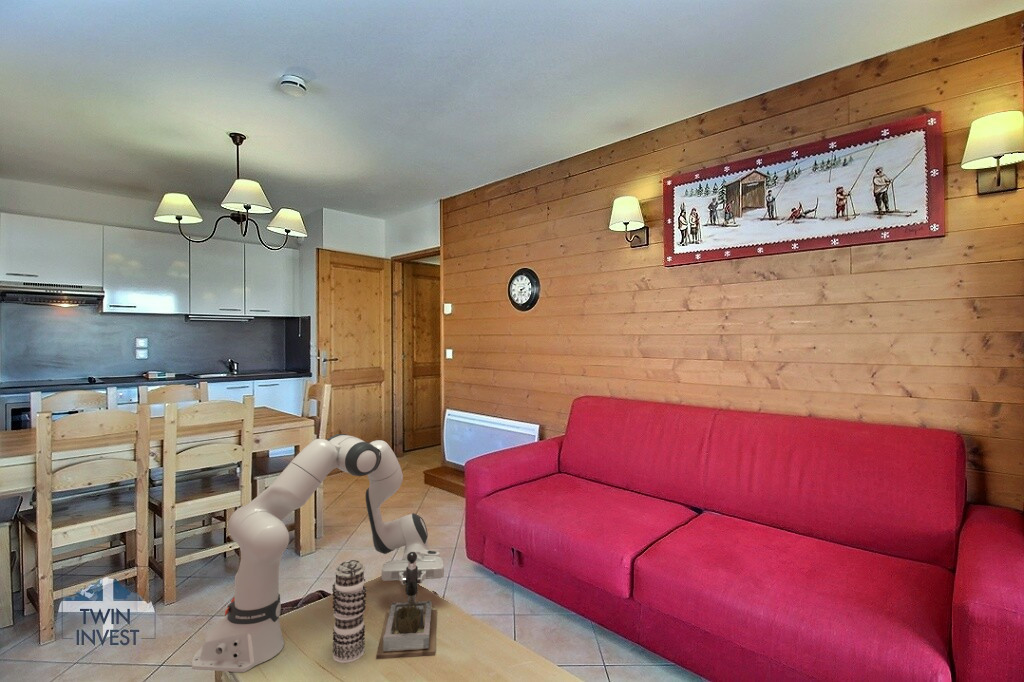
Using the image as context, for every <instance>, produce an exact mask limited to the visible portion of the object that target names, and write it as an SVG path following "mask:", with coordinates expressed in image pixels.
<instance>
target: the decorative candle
mask: <svg viewBox="0 0 1024 682" xmlns="http://www.w3.org/2000/svg"><path fill="white" fill-rule="evenodd" d="M365 571H366V566H365V565H364V564H363V563H362V562H360V561H359V560H356V559H351V560H350V559H349V560H346V561H343V562H342V563H340V564H339V565H338V566H337V567H336V569H335V570H334V573H335V581H334V584H332V589H331V590H332V594H331V595H332V605H333V606H332V609H333V617H334V618H335V619H334V626H333V627H334V628H333V631H332V634H333V638H332V640H333V642H332V658H333V660H334V661H335V662H338V663H339V664H340V663H341V664H347V663H352V662H355V661H357V660H359V659H360V658H362V657H363V655H364V654H365V647H366V646H365V645H366V643H365V639H366V638H365V635H366V634H365V632H366V625H365V623H364V619H365V618H364V612H365V611H366V604H367V603H366V601H367V600H366V598H367V593H366V592H367V587H366V586H365V582H366V579H365V575H364V574H365Z"/></svg>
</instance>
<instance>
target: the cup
mask: <svg viewBox="0 0 1024 682" xmlns="http://www.w3.org/2000/svg"><path fill="white" fill-rule="evenodd" d="M420 619H421V609H420V610H419V607H418V609H417V608H416V606H413V605H412V606H411V607H410V608H409V605H408V606H407V608H405V606H402V607H401V609H400V608H399V609H398V613H396V622H397V629H398V630H397V631H398V634H405V633H418V631H419V630H420V629H419V625H420Z"/></svg>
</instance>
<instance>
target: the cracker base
mask: <svg viewBox="0 0 1024 682" xmlns="http://www.w3.org/2000/svg"><path fill="white" fill-rule="evenodd" d="M410 607H411V606H409V608H410ZM418 607H419V610H420V609H421V619H420V625H419V629H418V630H424V627H425V615H426V613H423V606H416V608H417V609H418ZM399 608H400V609H401V607H397V610H396V613H398V609H399ZM405 608H407V607H405ZM389 613H390V611H388V612H386V611H385V616H384V620H383V624H382V629H381V633H380V636H379V641H378V647H377V650H376V655H375V659H376V660H381V659H382V660H385V659H395V658H397V659H398V658H413V657H414V658H415V657H426V656H427V657H429V656H435V655H436V640H437V639H436V635H437V621H438V620H437V616H438V614H437V613H438V609H431V622H430V637H429V649H418V650H403V651H387V652H383V637H384V635H385V631H386V627H387V622H388V617H389ZM395 631H398V629H397V622H396V617H395V622H394V627H393V632H392V634H395Z"/></svg>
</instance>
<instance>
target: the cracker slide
mask: <svg viewBox="0 0 1024 682" xmlns="http://www.w3.org/2000/svg"><path fill="white" fill-rule="evenodd" d="M407 560H408V561H409V562H408V567H406V584H405V595H406V596H407V601H405V602H391V605H390V609H389V612H390V613H389V617H388V622H387V627H386V631H385V635H384V637H383V652H387V651H403V650H418V649H429V637H430V622H431V610H432V600H426V601H425V600H424V601H423V600H422V601H416V595H418V584H417V578H418V567H417V566H416V560H417V554H416V553H415V552H410V553H409V554H408V555H407ZM408 605H409V606H412V605H413V606H423V613H426V615H425V627H424V629H423V632H421V631H420V632H416V633H405V634H400V633H394V634H392V632H393V627H394V622H395V617H396V610H397V607H402V606H405V607H407V606H408Z"/></svg>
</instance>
